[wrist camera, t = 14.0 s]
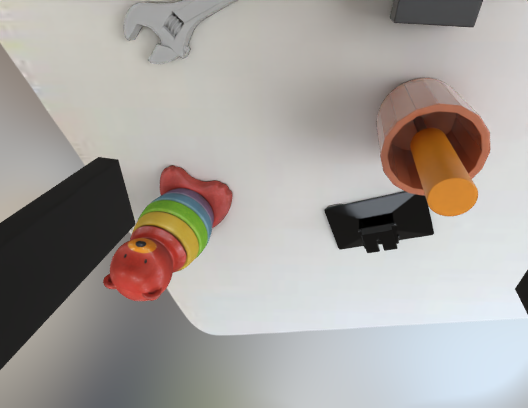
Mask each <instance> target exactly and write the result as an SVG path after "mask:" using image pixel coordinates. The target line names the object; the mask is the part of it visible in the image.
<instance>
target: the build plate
mask: <svg viewBox="0 0 528 408" xmlns="http://www.w3.org/2000/svg"><path fill="white" fill-rule="evenodd" d="M325 214H326V216H327V219H328V222H329V224H330V227H331V230H332V232H333V235H334V237H335V240H336V243H337V245H338V248H339V249H347V248H353V247H359V246H364V248H365V249H366V251H367V253H372V252H379V251H380V249H379V245H378V244H383V248H384V250H392V249H397V244H398V243H399V240H403V239H409V238H415V237H422V236H428V235H433V234H434V231H433V226H432V222H431V217H430V212H429V208H428V203H427V200H426V197H425V196H424V195H418V194H411V193H408V192H406V191H404V192H400V193H395V194H390V195H386V196H381V197H377V198H372V199H367V200H363V201H358V202H353V203H349V204H336V205H331V206H328V207H327V208H326V209H325Z"/></svg>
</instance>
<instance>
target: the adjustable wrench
mask: <svg viewBox="0 0 528 408" xmlns="http://www.w3.org/2000/svg"><path fill="white" fill-rule="evenodd" d="M236 1H237V0H183V1H180V2H176V3H155V2H141V3H137V4H135V5H133V6H132V7H131V8H130V9H129V10H128V12H127V13H126V16H125V19H124V34H125V38H126V39H127V40H128V41H130V40H135V38H136V37H137V35H138V33H139V31H140V29H141V27H142V26H146V27H150V28H151V29H152V30H153V31H154V32H155V33H156V34H157V35H158V36H159V38H160V41H161V43H160V44H157V45H156V47H155V49H154V50H153V52H152V54H151V55H150V57H149V59H148V61H149V62H150V63H153V64H164V63H168V62H170V61H173V60H175V59H177V58H179V57H181V58H185V57H187V56H188V52H189V51H190V48H189V47H188V43H189V40H190V37H191V35H192V32H193V30H194V29H195V27H196V26H197V25H198V24H199V23H200V22H201V21H202V20H204V19H205V18H207V17H209V16H211V15H212V14H214V13H216V12H218V11H219V10H221V9H223V8H225V7H227V6H228V5H230V4H232V3H234V2H236ZM175 14H176V16H175ZM178 17H179V19H178ZM181 20H182V22H181Z"/></svg>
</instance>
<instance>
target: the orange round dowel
mask: <svg viewBox="0 0 528 408" xmlns="http://www.w3.org/2000/svg"><path fill="white" fill-rule="evenodd" d="M413 122H414V125H415V127H416V130H417V132H418V133H416V134H415V135H414V137H413V138H412V140H411V143H410V149H411V152H412V155H413V159H414V162H415V165H416V168H417V171H418V174H419V178H420V181H421V184H422V187H423V190H424V193H425V197H426V200H427V203H428V206H429V207H430V209H431V210H432V211H434V212H435V213H437V214H439V215H443V216H456V215H460V214H463V213H465V212H467V211H468V210H470V209H471V208H472V207H473V206H474V204H475V203H476V201H477V198H478V190H477V188H476V186H475V184H474V183H473V181H472V179H471V178H470V176H469V174H468V172H467V171H466V169H465V167H464V166H463V164H462V162H461V161H460V159H459V157H458V155H457V154H456V152H455V150H454V149H453V147H452V145H451V144H450V142H449V140H448V138H447V137H446V135H445V134H444V132H442V131H441V130H439V129H437V128H427V127H426V125H425V123H424V121H423V119H422V117H420V116H418V117H416V118H415V119H414V120H413Z"/></svg>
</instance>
